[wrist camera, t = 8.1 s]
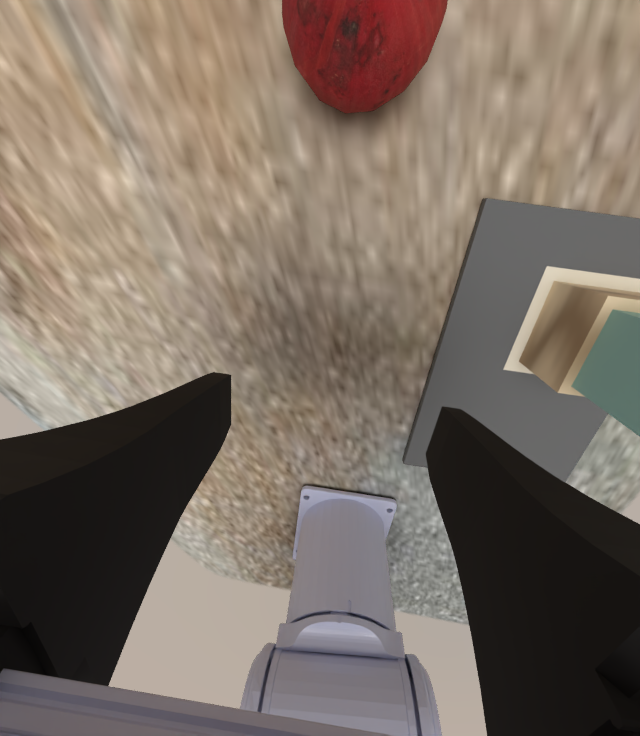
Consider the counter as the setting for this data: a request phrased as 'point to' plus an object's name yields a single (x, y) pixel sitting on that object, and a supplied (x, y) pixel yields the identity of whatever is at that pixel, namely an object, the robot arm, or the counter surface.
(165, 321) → the counter surface
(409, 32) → the onion
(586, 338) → the maple block
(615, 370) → the teal block
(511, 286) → the mat
